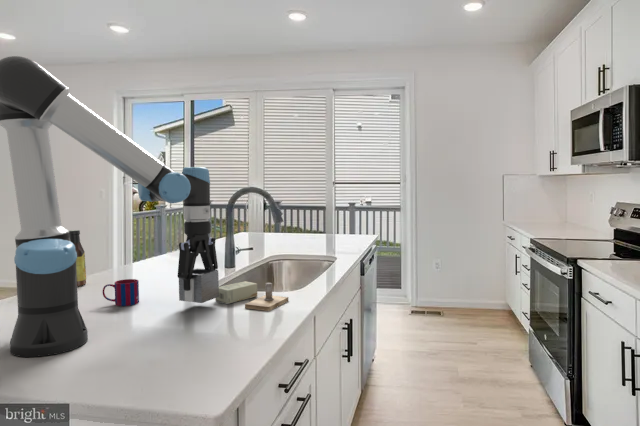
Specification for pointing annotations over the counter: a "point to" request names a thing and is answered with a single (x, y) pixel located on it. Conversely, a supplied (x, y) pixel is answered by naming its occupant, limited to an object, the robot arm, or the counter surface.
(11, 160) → the robot arm
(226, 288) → the skincare box
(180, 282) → the hollow grey cube box
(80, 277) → the sauce bottle
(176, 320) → the counter surface
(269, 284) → the block
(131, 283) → the mug
